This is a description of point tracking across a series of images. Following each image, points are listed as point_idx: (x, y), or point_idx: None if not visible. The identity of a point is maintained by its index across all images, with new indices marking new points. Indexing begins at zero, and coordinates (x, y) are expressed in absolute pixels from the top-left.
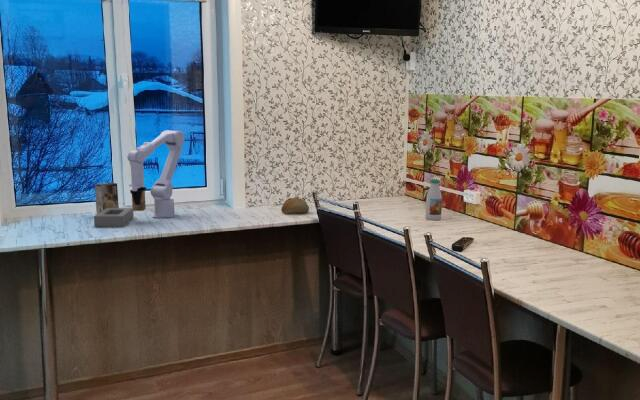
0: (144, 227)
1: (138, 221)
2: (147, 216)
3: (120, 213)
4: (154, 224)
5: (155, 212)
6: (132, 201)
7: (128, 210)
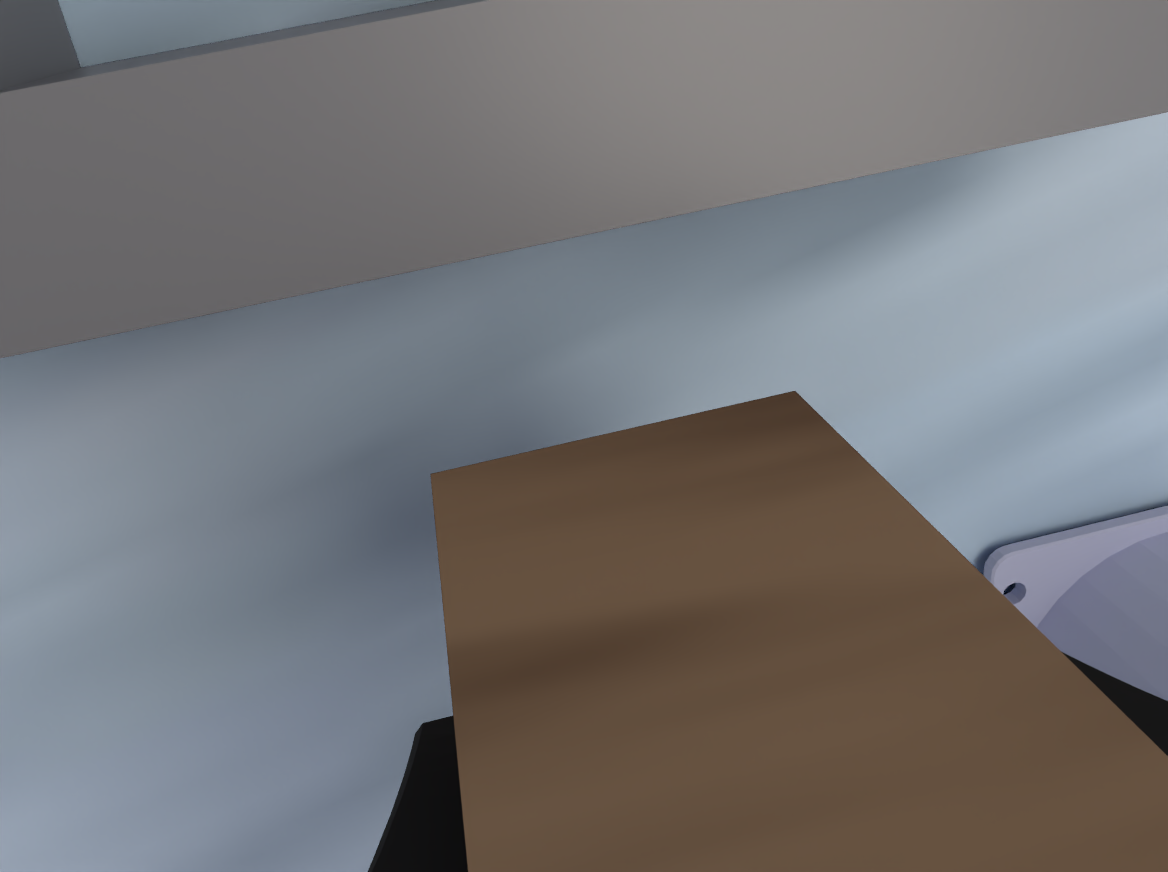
0: (2, 802)
1: (588, 398)
2: (1151, 356)
3: (147, 96)
4: (349, 848)
5: (1128, 624)
6: (451, 688)
7: (741, 149)
